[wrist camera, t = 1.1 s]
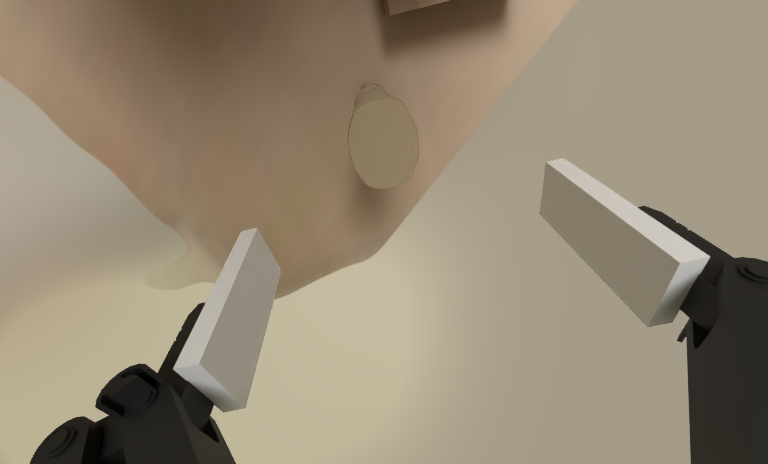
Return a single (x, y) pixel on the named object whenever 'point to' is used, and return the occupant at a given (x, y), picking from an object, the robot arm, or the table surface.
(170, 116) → the table surface
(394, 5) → the slot block
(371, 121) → the handle
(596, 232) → the robot arm
